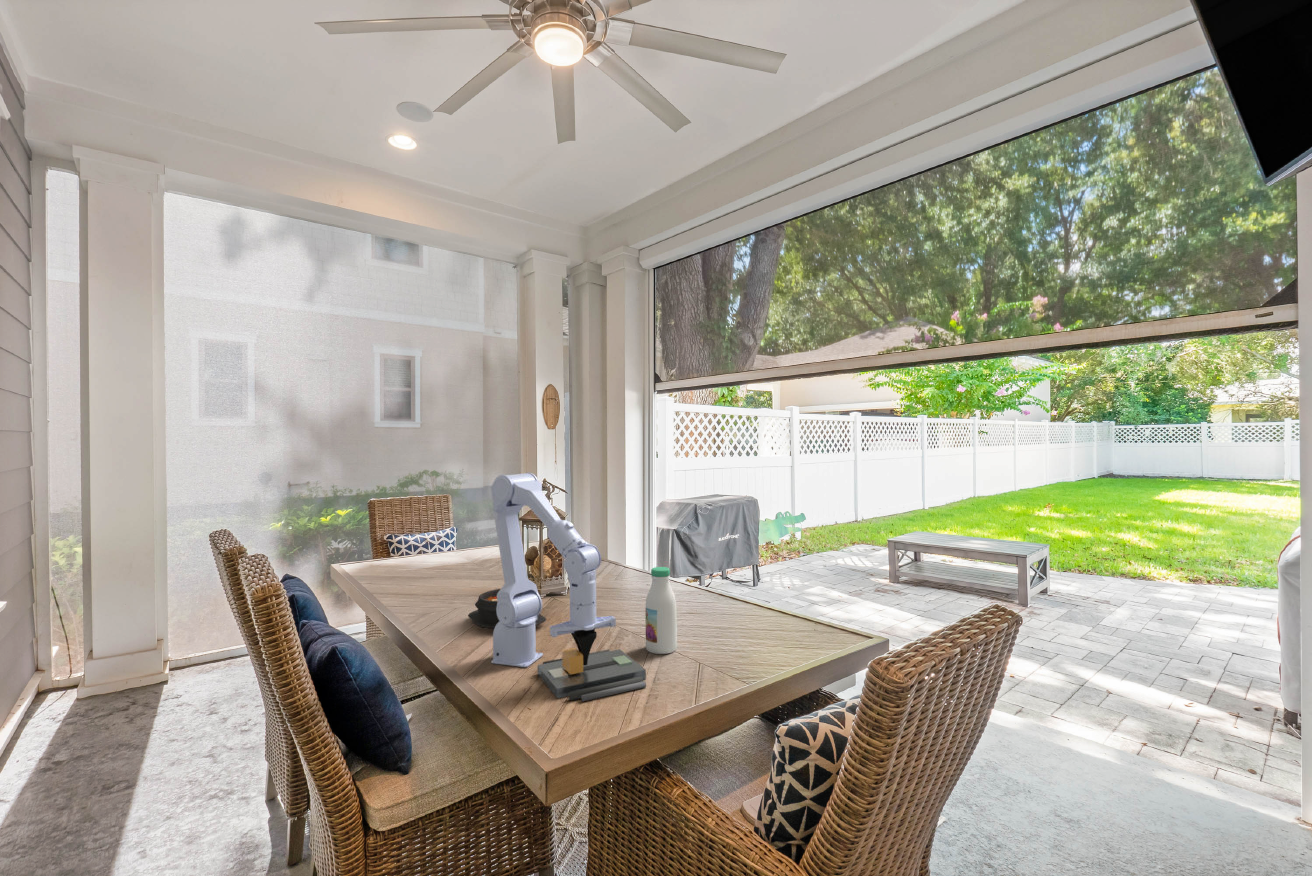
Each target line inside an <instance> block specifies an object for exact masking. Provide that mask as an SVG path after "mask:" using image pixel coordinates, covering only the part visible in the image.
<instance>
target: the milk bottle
mask: <svg viewBox="0 0 1312 876" xmlns="http://www.w3.org/2000/svg"><path fill="white" fill-rule="evenodd" d="M650 573H651V575H650V576H651V580H652V581H651V584H650V588H649V590H648V592H647V596H646V599H645V610H644V611H645V616H644V617H645V623H644V624H645V648H646V650H647V652H649V653H651V654H655V655H665V654H666V655H667V654H672V653H674V652H675V651H676V650H677V647H678V626H677V625H678V623H677V622H678V621H677V615H678V614H677V600H676V596H675V593H674V591H673V588H672V585H671V583H670V578H671V576H670V575H671V571H670V568H669V567H667V566H654V567H652V568H651V571H650Z"/></svg>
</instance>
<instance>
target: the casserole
mask: <svg viewBox="0 0 1312 876" xmlns="http://www.w3.org/2000/svg"><path fill="white" fill-rule="evenodd" d="M500 589H501V588H497V589H492V590H488V591H485V592H483V593H481V594H480V595H478V598H477V601H476V602H475V603H474V605H475V607H476V608H477V609H475V610H473V611H471V612H469V613H468V614H467V617H468V618H469V619H471V621H472V623H473V624H474V625H475V626H478V627H481V628H485V629H490V630H494V629H495V626H496V625H497V623H498V622H500V621H499V619H498V617H497V612H496V608H497V593H498V592H499V591H500ZM518 594H521V593H518ZM518 594H516V595H518ZM546 621H547V617H545V616H543V615H542V614H541V613H540V614H539V615H537V620H536V621H535V627H536V626H539V625H541V624H543V623H545V622H546Z"/></svg>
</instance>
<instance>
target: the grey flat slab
mask: <svg viewBox="0 0 1312 876" xmlns="http://www.w3.org/2000/svg"><path fill="white" fill-rule="evenodd" d="M537 675H538V676H539V677H540V679H541V680H542V681H543V683H544V684H545V685H546V687H547V688H548V689H549V690H550V691H551V693H552V694H553V695H554V697H555V698H556V699H557V700H558V699H561V698H565V697H569V696H568V693H569V692H572V691H577V690H581V689H586V688H591V687H595V686H600V685H604V684H609V683H613V682H618V681H622V680H627V679H632V678H636V677H642V678H643V680H646V679H647V670H646V669H645V667H643V666H642V665H640V664H639V663H638V662H637V661H636V660H634V659H633V658H631V657H630V655H628V654H627V653H626V652H625V651H623V650H622V649H619V648H618V649H614V650H609V651H608V652H603V653H598V654H592V655H589V656H588V663H587V665H583V672H581V673H576V674H571V675H570V674H569V673H568V672H567V671H566V670H565V669H564V668H563V667H562V660H561V661H556V662H551V663H546V664H543V663H540V664H537Z"/></svg>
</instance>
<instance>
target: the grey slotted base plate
mask: <svg viewBox="0 0 1312 876" xmlns="http://www.w3.org/2000/svg"><path fill="white" fill-rule="evenodd" d="M608 651H610V649H605V650H600V651H599V650H598V651H594V652H590V653H589V655H592V654H598V653H603V652H608ZM561 660H562V657H561V658H557V659H552V660H547V661H543V662H542V664H546V663H551V662H556V661H561ZM646 687H647V683H646V681H645V680H644V679H643V678H642V677H636V678H632V679H627V680H622V681H618V682H613V683H609V684H604V685H600V686H595V687H591V688H586V689H581V690H577V691H572V692H569V693H568V696H567V697H568V700H569V701H570V702H571V701H576V700H579V699H580V701H581V702H582V703H583V702H587V701H591V700H595V699H601V698H604V697H608V696H613V695H618V694H621V693H626V692H630V691H634V690H639V689H644V688H646Z"/></svg>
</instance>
